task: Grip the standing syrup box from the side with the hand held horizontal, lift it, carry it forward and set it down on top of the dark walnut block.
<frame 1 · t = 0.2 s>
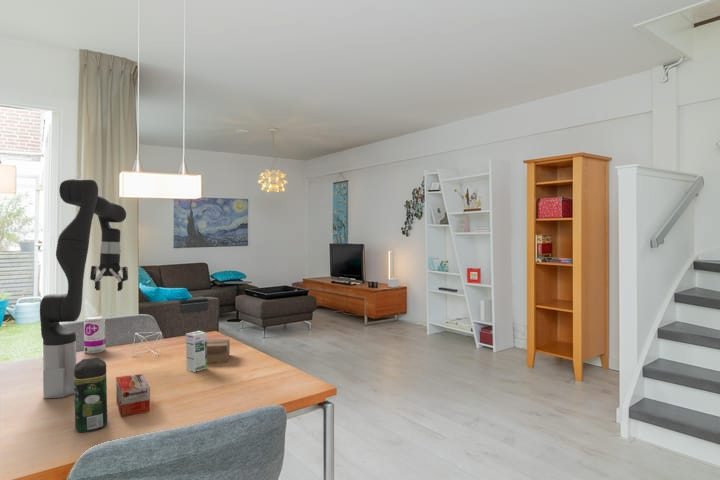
hand: (108, 290, 195), 28 cm above the table, tool pointing down, fingers open, 8 cm apart
supplement can: (94, 351, 203), on the table
geometric polyhedron: (147, 354, 199), on the table
walnut block: (214, 359, 193), on the table
syrup box: (196, 369, 179), on the table
coffee jar: (91, 426, 128), on the table
medicine box: (132, 407, 142), on the table
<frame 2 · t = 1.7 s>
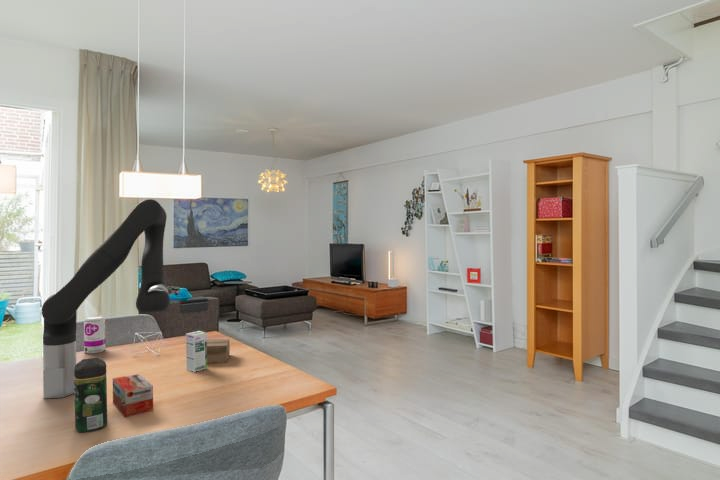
hand: (161, 289, 187), 30 cm above the table, tool horizontal, fingers open, 8 cm apart
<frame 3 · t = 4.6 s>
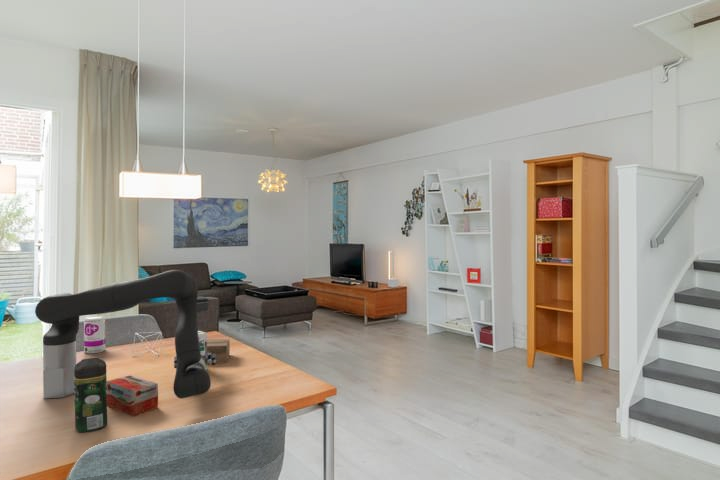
hand: (196, 354, 169), 8 cm above the table, tool horizontal, fingers open, 8 cm apart
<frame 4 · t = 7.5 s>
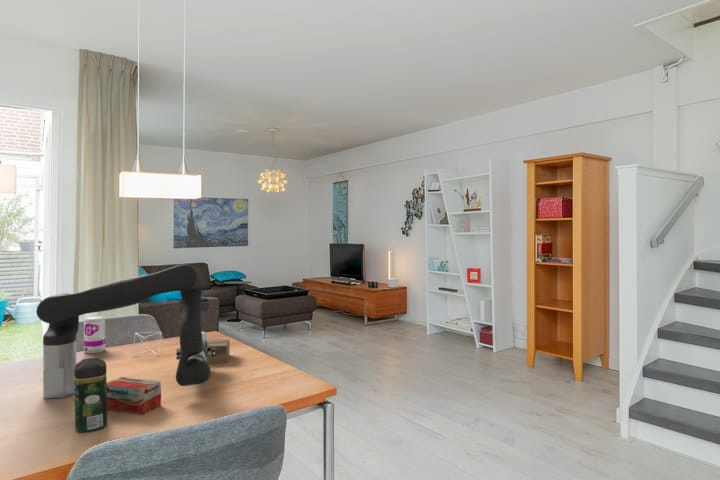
hand: (196, 347, 181), 8 cm above the table, tool horizontal, fingers closed on syrup box, 8 cm apart
syrup box: (196, 369, 179), on the table, touching gripper
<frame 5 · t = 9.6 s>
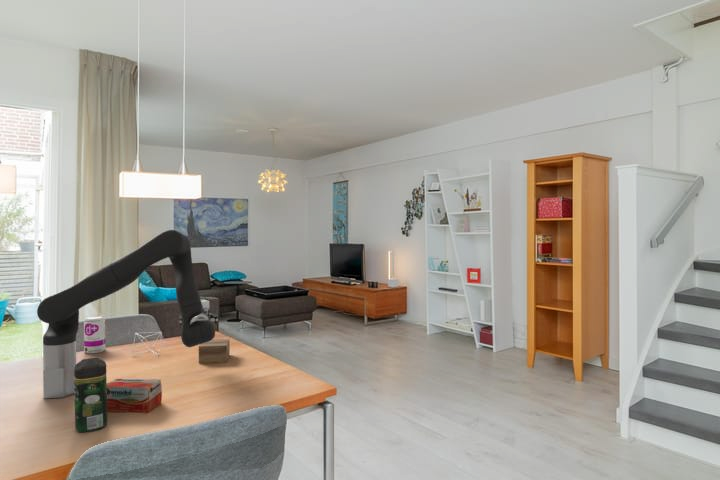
hand: (199, 316, 182), 20 cm above the table, tool horizontal, fingers closed on syrup box, 8 cm apart
syrup box: (199, 337, 180), point 12 cm above the table, touching gripper
when the fingers open (16 cm above the table, at t = 12.0 s): syrup box stays where it is, resting on walnut block.
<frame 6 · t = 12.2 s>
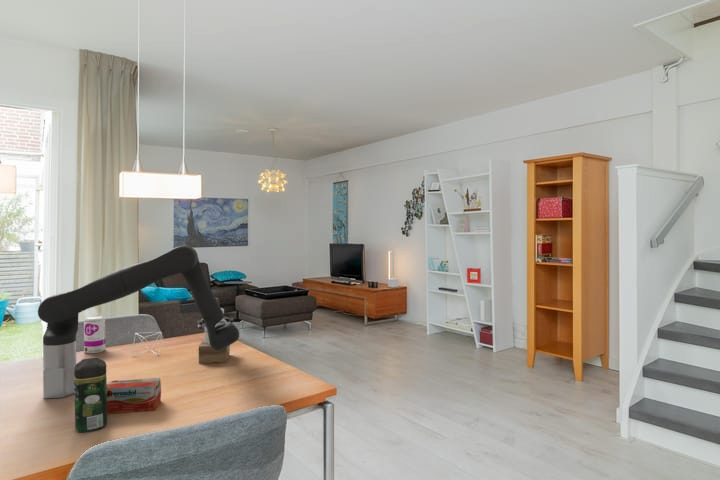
hand: (213, 319, 194), 16 cm above the table, tool horizontal, fingers open, 8 cm apart
syrup box: (214, 343, 192), point 7 cm above the table, touching gripper, walnut block
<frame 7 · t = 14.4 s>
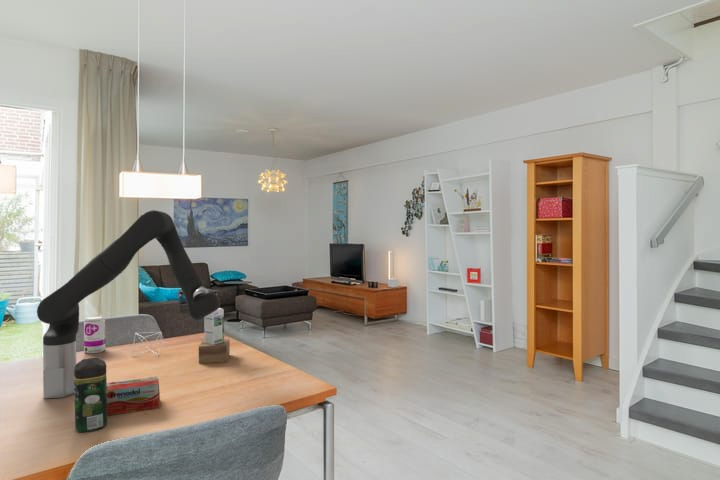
hand: (196, 291, 183), 30 cm above the table, tool horizontal, fingers open, 8 cm apart
syrup box: (214, 343, 192), point 7 cm above the table, touching walnut block
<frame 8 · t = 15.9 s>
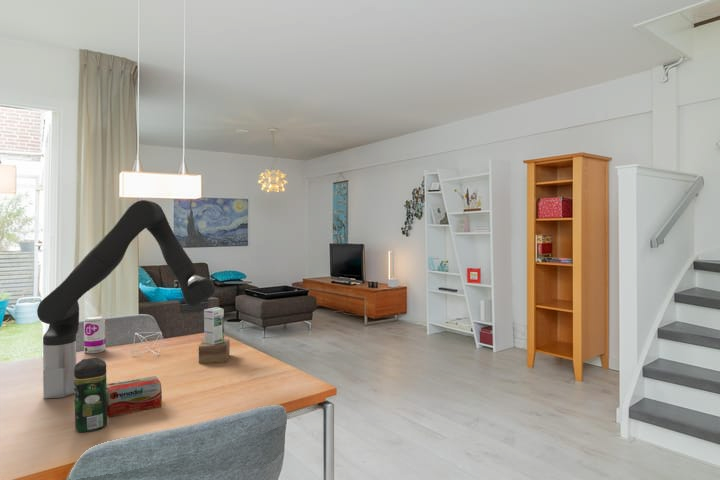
hand: (192, 281, 183), 34 cm above the table, tool horizontal, fingers open, 8 cm apart
at the end: syrup box inside the target area on the walnut block (0.2 cm from its centre), point 6.8 cm above the walnut block's base; syrup box tilted 0°; the gripper is holding nothing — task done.
